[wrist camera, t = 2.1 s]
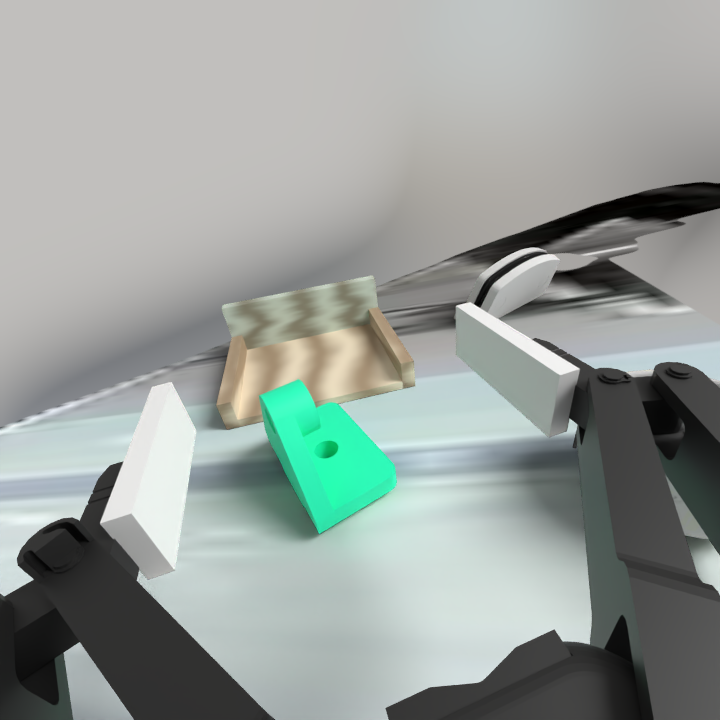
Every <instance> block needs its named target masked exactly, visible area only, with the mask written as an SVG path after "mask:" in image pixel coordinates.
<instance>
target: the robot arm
mask: <svg viewBox="0 0 720 720" xmlns="http://www.w3.org/2000/svg"><path fill="white" fill-rule="evenodd" d="M456 355H457V356H458V357H459V358H460V359H461V360H462V361H463V362H465V363H466V364H467V365H468V366H469V367H470V368H471V369H472V370H474V371H475V372H476V373H477V374H478V375H479V376H480V377H481V378H483V379H484V380H485V381H486V382H487V383H488V384H489V385H490V386H492V387H493V388H494V389H495V390H496V391H497V392H498V393H499V394H501V395H502V396H503V397H504V398H505V399H506V400H507V401H508V402H510V403H511V404H512V405H513V406H514V407H515V408H516V409H517V410H519V411H520V412H521V413H522V414H523V415H524V416H525V417H526V418H528V419H529V420H530V421H531V422H532V423H533V424H534V425H535V426H537V427H538V428H539V429H540V430H541V431H542V432H543V433H544V434H546V435H547V436H548V437H552V436H555V435H557V434H560V433H563V432H566V431H567V428H568V423H569V418H570V419H571V420H573V421H574V422H575V423H577V424H578V426H577V431H576V435H575V439H574V444H573V448H576V447H577V448H578V460H579V471H580V483H581V494H582V506H583V517H584V529H585V540H586V552H587V563H588V575H589V586H590V598H591V609H592V628H591V637H590V645H589V644H584V643H579V642H562V640H561V639H560V637H559V636H558V634H557V633H556V631H555V630H552V631H550V632H548V633H546V634H544V635H541V636H539V637H537V638H535V639H533V640H531V641H528V642H526V643H524V644H522V645H520V646H518V647H516V648H515V649H514V650H513V651H512V652H511V653H510V654H509V655H508V656H507V657H506V658H505V659H504V660H503V661H502V662H501V663H500V664H499V665H498V666H497V667H496V668H495V669H494V670H493V671H492V672H491V673H490V674H489V675H488V676H487V677H486V678H485V679H484V680H483V681H481V682H479V683H473V684H462V685H451V686H440V687H430V688H428V689H426V690H423V691H421V692H419V693H417V694H415V695H413V696H411V697H408V698H406V699H404V700H402V701H400V702H398V703H396V704H393V705H391V706H389V707H387V708H386V711H387V715H388V719H389V720H720V595H719V593H718V591H717V590H716V589H715V588H714V587H713V586H712V585H709V584H705V583H703V582H702V581H701V580H700V579H699V577H698V574H697V572H696V569H695V566H694V562H693V559H692V556H691V553H690V550H689V547H688V544H687V541H686V538H685V534H684V531H683V528H682V525H681V522H680V519H679V516H678V513H677V510H676V506H675V503H674V500H673V497H672V494H671V491H670V488H669V485H668V481H667V478H668V479H669V481H670V482H671V484H672V485H673V487H674V488H675V490H676V491H677V493H678V494H679V495H680V497H681V498H682V500H683V501H684V503H685V504H686V506H687V507H688V509H689V510H690V512H691V513H692V515H693V516H694V518H695V519H696V521H697V522H698V524H699V525H700V527H701V528H702V530H703V531H704V533H705V534H706V536H707V537H708V539H709V540H710V542H711V543H712V545H713V546H714V548H715V549H716V551H717V552H718V553H719V555H720V388H719V387H718V386H717V385H716V384H715V383H714V382H713V381H712V380H711V379H709V378H708V377H707V376H706V375H705V374H704V373H703V372H701V371H700V370H698V369H697V368H695V367H692V366H689V365H687V364H684V363H683V364H682V363H678V362H665V363H660V364H658V365H656V366H655V368H654V371H653V374H652V376H644V377H632V376H631V375H629V374H628V373H626V372H623V371H621V370H618V369H612V368H599V369H594V368H592V367H591V366H589V365H587V364H586V363H584V362H582V361H580V360H579V359H577V358H575V357H574V356H572V355H570V354H567V352H565V351H563V350H562V349H559V348H558V347H556V346H555V345H553V344H551V343H550V342H547V341H544V340H540V339H537V338H534V339H530V338H528V337H527V336H525V335H523V334H522V333H520V332H518V331H517V330H515V329H513V328H512V327H510V326H509V325H507V324H505V323H504V322H502V321H500V320H499V319H497V318H495V317H494V316H492V315H490V314H489V313H487V312H485V311H484V310H482V309H481V308H479V307H477V306H476V305H474V304H472V303H471V302H469V303H465V304H461V305H458V306H456ZM195 437H196V429H195V427H194V425H193V423H192V421H191V419H190V417H189V415H188V413H187V411H186V409H185V407H184V406H183V404H182V402H181V400H180V398H179V396H178V394H177V392H176V390H175V388H174V386H173V384H172V382H169V383H165V384H161V385H157V386H154V387H152V388H151V391H150V394H149V396H148V399H147V401H146V404H145V407H144V409H143V412H142V414H141V417H140V420H139V422H138V425H137V428H136V430H135V433H134V435H133V438H132V441H131V443H130V446H129V448H128V451H127V454H126V456H125V459H124V461H123V462H120V463H117V464H113V465H110V466H109V467H108V468H107V469H106V471H105V472H104V473H103V474H102V475H101V476H100V477H99V479H98V481H97V483H96V485H95V488H94V490H93V494H91V497H90V499H89V501H88V505H87V506H86V508H85V510H84V513H83V515H82V517H81V519H80V521H79V520H77V519H75V518H63V519H60V520H58V521H55V522H53V523H51V524H49V525H47V526H46V527H44V528H42V529H41V530H39V531H38V532H37V533H36V534H35V535H33V536H32V537H31V538H30V539H29V540H28V541H27V542H26V544H25V545H24V546H23V547H22V549H21V550H20V553H19V555H18V557H17V563H18V566H19V567H20V568H22V569H23V570H24V571H25V572H26V573H27V574H28V575H30V576H31V577H32V578H33V579H34V580H33V581H31V582H29V583H27V584H26V585H24V586H22V587H20V588H19V589H17V590H15V591H13V592H12V593H10V594H8V595H6V596H5V597H4V596H3V595H1V594H0V720H73V716H72V709H71V702H70V695H69V688H68V681H67V674H66V667H65V660H64V652H65V651H67V650H68V649H70V648H71V647H73V646H74V645H76V644H77V643H79V642H80V643H81V644H82V646H83V647H84V649H85V650H86V651H87V653H88V654H89V656H90V657H91V659H92V660H93V661H94V663H95V664H96V666H97V667H98V669H99V670H100V671H101V673H102V674H103V676H104V677H105V679H106V680H107V681H108V683H109V684H110V686H111V687H112V689H113V690H114V691H115V693H116V694H117V696H118V697H119V699H120V700H121V701H122V703H123V704H124V706H125V707H126V709H127V710H128V711H129V713H130V714H131V716H132V717H133V719H134V720H275V719H274V718H273V717H271V716H270V715H269V714H268V713H267V712H266V711H265V710H264V709H263V708H262V707H261V706H260V705H259V704H258V703H257V702H256V701H255V700H254V699H253V698H252V697H251V696H250V695H249V694H248V693H247V692H246V691H245V690H244V689H243V688H242V687H241V686H240V685H239V684H238V683H237V682H236V681H235V680H234V679H233V678H232V677H231V676H230V675H229V674H228V673H227V672H226V671H225V670H224V669H223V668H222V667H221V666H220V665H219V664H218V663H217V662H216V661H215V660H214V659H213V658H212V657H211V656H210V655H209V654H208V653H207V652H206V651H205V650H204V649H203V648H202V647H201V646H200V645H199V644H198V643H197V642H196V641H195V640H194V638H193V637H192V636H191V635H190V634H189V633H188V632H187V631H186V630H185V629H184V628H183V627H182V626H181V625H180V624H179V623H178V622H177V621H176V620H175V619H174V618H173V617H172V616H171V615H170V614H169V613H168V612H167V611H166V610H165V609H164V608H163V607H162V606H161V605H160V604H159V603H158V602H157V601H156V600H155V599H154V598H153V597H152V596H151V595H150V594H149V593H148V592H147V591H146V590H145V589H144V588H143V587H142V586H141V585H140V584H139V583H138V582H137V581H136V580H137V576H138V572H139V570H140V571H141V572H142V574H143V575H144V576H145V577H146V578H147V580H150V579H152V578H155V577H158V576H161V575H164V574H166V573H169V572H172V571H175V566H176V560H177V553H178V547H179V540H180V534H181V527H182V521H183V514H184V508H185V502H186V495H187V489H188V482H189V476H190V469H191V463H192V456H193V450H194V444H195ZM666 476H667V478H666Z"/></svg>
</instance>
